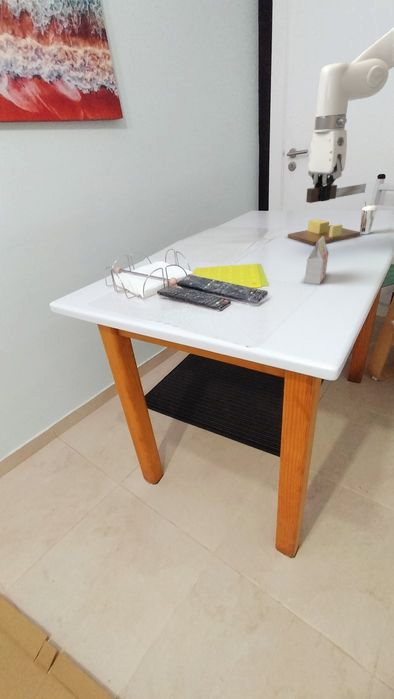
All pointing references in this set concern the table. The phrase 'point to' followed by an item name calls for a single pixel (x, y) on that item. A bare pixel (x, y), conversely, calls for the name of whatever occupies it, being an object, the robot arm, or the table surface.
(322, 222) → the butter block
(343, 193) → the knife
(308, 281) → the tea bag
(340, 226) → the butter slice
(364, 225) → the milkshake
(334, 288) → the table surface
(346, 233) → the board
